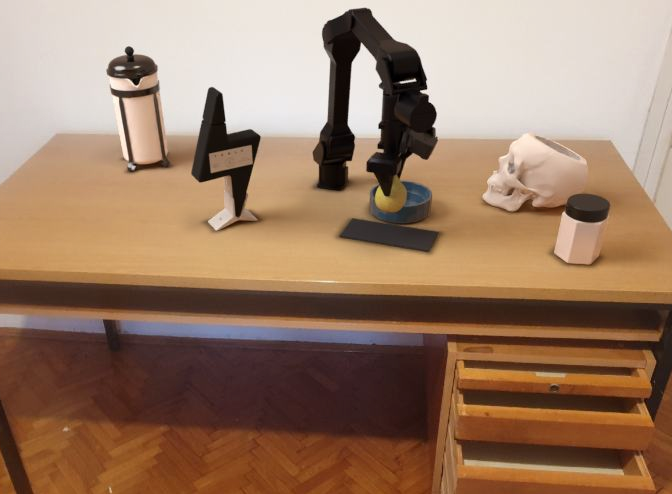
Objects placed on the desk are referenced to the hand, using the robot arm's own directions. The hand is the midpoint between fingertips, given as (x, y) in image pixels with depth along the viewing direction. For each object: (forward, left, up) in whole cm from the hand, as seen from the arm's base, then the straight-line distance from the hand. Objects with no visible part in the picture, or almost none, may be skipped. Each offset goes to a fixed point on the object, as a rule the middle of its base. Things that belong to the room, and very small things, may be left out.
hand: (391, 189), depth 148 cm
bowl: (-1, +12, -11) cm, 16 cm away
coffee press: (-75, +19, -11) cm, 78 cm away
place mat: (0, 0, -11) cm, 11 cm away
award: (-36, -6, -11) cm, 38 cm away
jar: (+39, +4, -11) cm, 41 cm away
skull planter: (+27, +26, -11) cm, 39 cm away
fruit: (0, 0, -5) cm, 5 cm away
